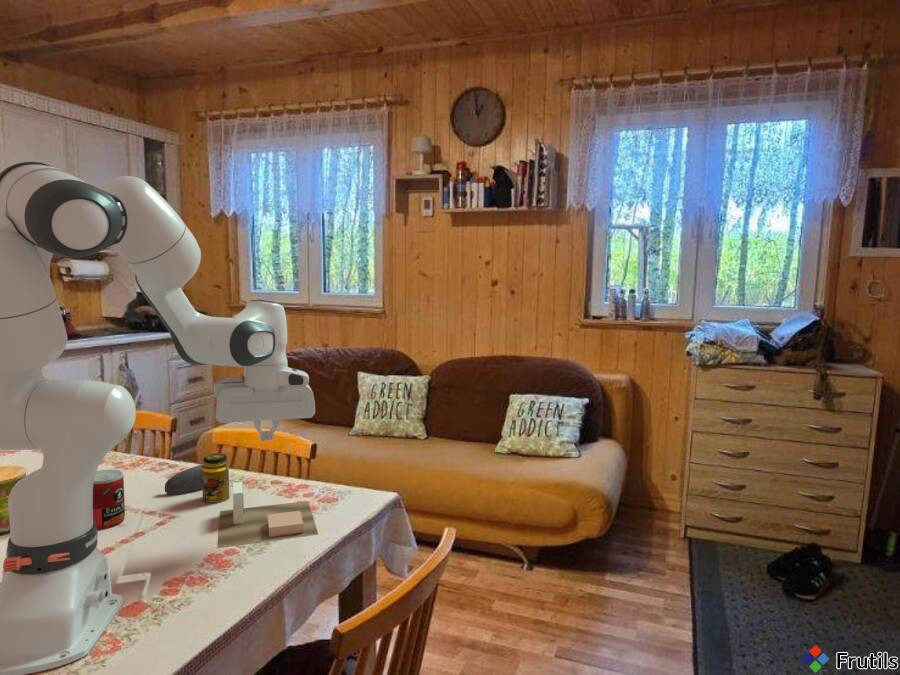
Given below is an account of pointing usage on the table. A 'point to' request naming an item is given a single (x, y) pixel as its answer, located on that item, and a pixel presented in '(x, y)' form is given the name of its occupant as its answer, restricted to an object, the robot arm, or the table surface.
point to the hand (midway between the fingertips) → (266, 440)
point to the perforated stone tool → (185, 481)
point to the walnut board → (261, 524)
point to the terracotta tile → (285, 523)
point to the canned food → (108, 498)
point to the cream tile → (238, 503)
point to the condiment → (215, 478)
